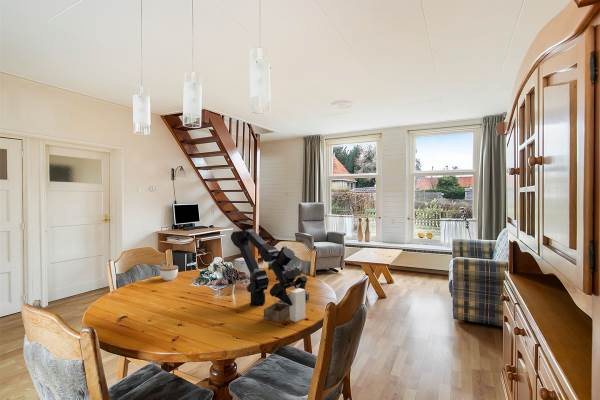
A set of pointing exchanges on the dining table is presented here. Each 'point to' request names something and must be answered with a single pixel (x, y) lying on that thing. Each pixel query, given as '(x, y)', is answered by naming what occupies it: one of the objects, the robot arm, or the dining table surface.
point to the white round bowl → (169, 272)
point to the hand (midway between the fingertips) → (299, 302)
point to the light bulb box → (241, 265)
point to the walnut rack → (279, 310)
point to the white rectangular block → (297, 304)
